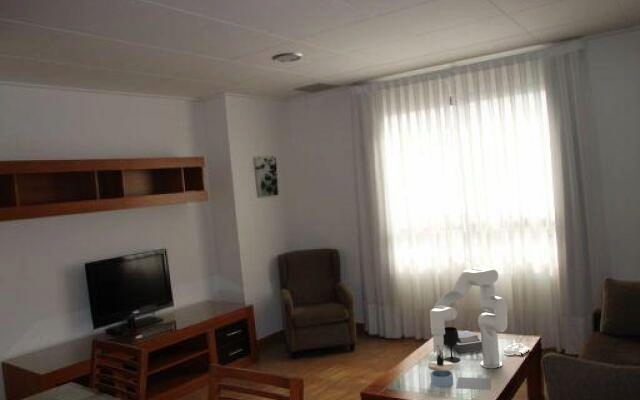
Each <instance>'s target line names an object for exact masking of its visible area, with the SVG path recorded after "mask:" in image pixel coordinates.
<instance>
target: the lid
mask: <svg viewBox="0 0 640 400" xmlns="http://www.w3.org/2000/svg"><path fill="white" fill-rule="evenodd" d="M442 357H444V354H443V355H442ZM427 366H428V369H429V370H431V371H448V370H450V371H452V370H453V369H454V366H455V365H454V363H452V362H449V361H444V362H443V365H438V364H437V360H433V361H430V362H429V363H428V364H427Z"/></svg>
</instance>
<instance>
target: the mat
mask: <svg viewBox="0 0 640 400" xmlns="http://www.w3.org/2000/svg"><path fill="white" fill-rule="evenodd" d="M491 385H492V379H491V377H489V378H487V377H484V378H483V377H461V376H460V377H459V376H458V377H457V381H456V389H462V390H463V389H465V390H466V389H467V390H489V391H490V390H491V388H492V387H491Z"/></svg>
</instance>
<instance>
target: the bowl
mask: <svg viewBox="0 0 640 400" xmlns="http://www.w3.org/2000/svg"><path fill="white" fill-rule="evenodd" d="M430 382H431V384H430V385H431V386H434V387H438V388H447V387H451V386H452V385H454V374H453V372H452V370H448V371H434V370H431V371H430Z"/></svg>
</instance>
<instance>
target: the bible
mask: <svg viewBox="0 0 640 400" xmlns="http://www.w3.org/2000/svg"><path fill="white" fill-rule="evenodd" d="M458 337H459V338H458V342H457V344H456V345H455V346H454V347H452V349H453V350H452V351H453V352H455V351H456V352H457V353H456V352H455V353H456V354H459V355H462V354H469V353H474V352H475V351H477V352H481V351H480V350H482V341H481V337H479V336H478V334H476V333H475V332H471V331H468V330H467V329H466V330H463V331H458Z"/></svg>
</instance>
